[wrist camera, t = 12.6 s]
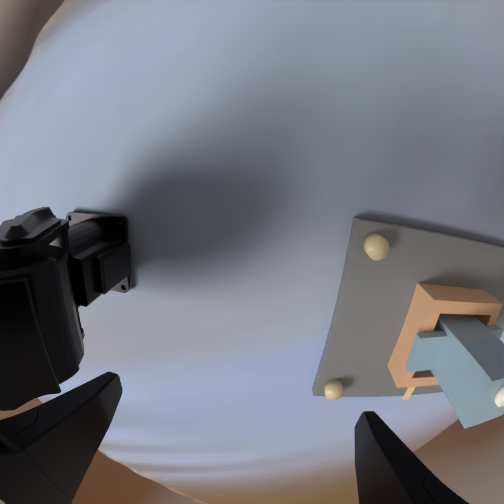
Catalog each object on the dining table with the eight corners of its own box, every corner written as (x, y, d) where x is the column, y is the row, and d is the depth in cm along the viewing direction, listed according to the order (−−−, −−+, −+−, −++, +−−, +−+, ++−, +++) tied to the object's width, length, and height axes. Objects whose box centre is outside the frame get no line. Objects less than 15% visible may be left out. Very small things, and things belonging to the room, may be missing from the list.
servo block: (391, 349, 21) (437, 443, 11) (403, 308, 20) (467, 396, 10) (468, 342, 20) (524, 411, 10) (481, 305, 19) (549, 367, 9)
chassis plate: (311, 391, 24) (313, 423, 20) (353, 217, 19) (370, 229, 15) (468, 385, 23) (482, 406, 19) (524, 251, 18) (548, 264, 14)
